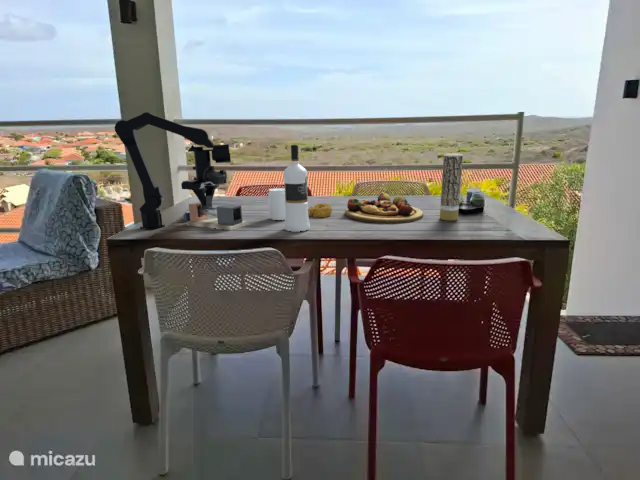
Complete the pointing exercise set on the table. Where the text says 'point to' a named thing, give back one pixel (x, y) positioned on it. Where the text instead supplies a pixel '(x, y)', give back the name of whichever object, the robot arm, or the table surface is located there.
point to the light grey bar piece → (186, 216)
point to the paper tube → (451, 186)
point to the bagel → (320, 210)
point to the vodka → (296, 195)
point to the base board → (215, 224)
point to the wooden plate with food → (383, 210)
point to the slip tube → (207, 208)
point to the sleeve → (229, 214)
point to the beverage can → (276, 203)
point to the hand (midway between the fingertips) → (206, 204)
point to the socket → (195, 212)
